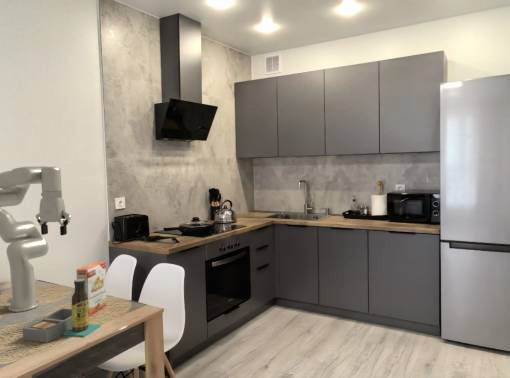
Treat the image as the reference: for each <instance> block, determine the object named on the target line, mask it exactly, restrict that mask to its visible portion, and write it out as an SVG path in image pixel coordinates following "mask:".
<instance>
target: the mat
mask: <svg viewBox="0 0 510 378" xmlns="http://www.w3.org/2000/svg"><path fill="white" fill-rule="evenodd" d="M100 327H101V324H92V323H89V324H88V328H87V329H86V330H83V331H73V330H72V328H70V329H68V330H67V331H65V332H63V333H62V334H61V336H70V337H80V338H85V337H87V336H89V335H90V334H91V333H93V332H94V331H96V330H98V329H99V328H100Z"/></svg>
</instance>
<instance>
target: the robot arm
mask: <svg viewBox="0 0 510 378" xmlns="http://www.w3.org/2000/svg"><path fill="white" fill-rule="evenodd" d="M36 184H37V185H38V184H40V185H41V193H40V195H41V198H40V200H39V210H38V211H39V212H38V213H37V214H35V218H36V220H37V222H38V224H39V225H37V224H36V223H35V222H33V221H31V220H22V221H16V220H15V218H14V216H13V215H12V214H11V213H10V212H8V211H7V210H5V209H4V208H5V207H13V206H14V207H15V206H19V205H20V204H22V202H23V200H24V199H25V197H26V195H27V193H28V190H29V188H30V186H31V185H36ZM62 195H63V193H62V174H61V168H60V167H58V166H44V165H42V166H41V165H39V166H21V167H15V168H12V170H8V171H3V172H0V238H1V240H2V241H3V242H4V243H6V244H8V246H7V247H6V257H7V260H8V265H9V272H10V273H9V274H10V285H11V289H10V291H11V296H10V297H8V298H7V299H6V303H8V304H9V303H10V305H9V306H8V311H10V312H12V313H13V312H14V313H18V312H27V311H29V310H34V309H36V308H38V307H39V306H40V305H41V304H40V303H41V302H40V300H37V299H36V284H35V283H36V282H35V280H36V279H35V269H34V268H35V267H34V266H33V265H32V264H31V262H29V260H33V259H37V258H41V257H43V256H46V255H47V254H48V252H49V244H48V242H47V240H46V238H45V237H44V236H45V235H48V233H49V227H48V224H47V223H59V224H60V226H59V234H60V236H65V235H67V233H68V232H67V231H68V230H67V229H68V228H67V226H68V224H69V223H70V221H71V219H72V215H70V214H69V213H68V212H66V205H65V201H64V198H63V196H62ZM39 226H40V228H39Z"/></svg>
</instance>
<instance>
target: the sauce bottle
mask: <svg viewBox="0 0 510 378" xmlns="http://www.w3.org/2000/svg"><path fill="white" fill-rule="evenodd" d="M73 281H74V282H73V284H74V293H73V294H72V296H71V309H72V330H73V331H83V330H86V329H87V328H88V324H90V320H89V319H90V316H89V308H88V297H87V293H86V292H85V279H77V278H76V279H74V280H73Z"/></svg>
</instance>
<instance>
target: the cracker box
mask: <svg viewBox="0 0 510 378" xmlns="http://www.w3.org/2000/svg"><path fill="white" fill-rule="evenodd" d="M106 268H107V265H106V262H104V261H94V262H91V263H90V264H86V265H84V266H82V267H80V268H77V269H76V280H77V279H85V292H86V293H87V297H88V308H89V317H90V316H91V315H93V314H94V313H96V312H98V311H100V310H101V309H103V308H105V307H106V306H108V305H107V303H108V302H107V278H106V277H107V276H106V275H107V274H106V273H107V272H106Z"/></svg>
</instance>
